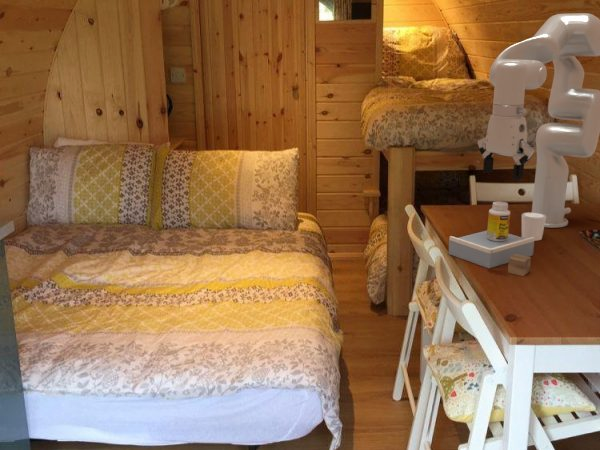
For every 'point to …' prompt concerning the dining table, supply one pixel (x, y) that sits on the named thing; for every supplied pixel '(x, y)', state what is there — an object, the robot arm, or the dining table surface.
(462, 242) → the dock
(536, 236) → the white cup
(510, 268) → the light brown cube
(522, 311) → the dining table surface
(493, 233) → the supplement bottle
